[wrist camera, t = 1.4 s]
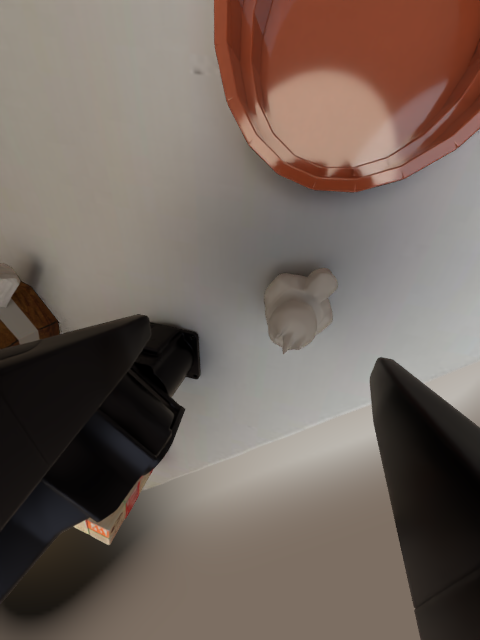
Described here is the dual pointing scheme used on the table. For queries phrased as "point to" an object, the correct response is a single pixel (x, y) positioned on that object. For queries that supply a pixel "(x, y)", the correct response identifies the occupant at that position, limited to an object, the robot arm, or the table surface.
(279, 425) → the table surface
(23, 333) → the mug
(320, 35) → the bowl
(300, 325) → the grey rounded figurine
